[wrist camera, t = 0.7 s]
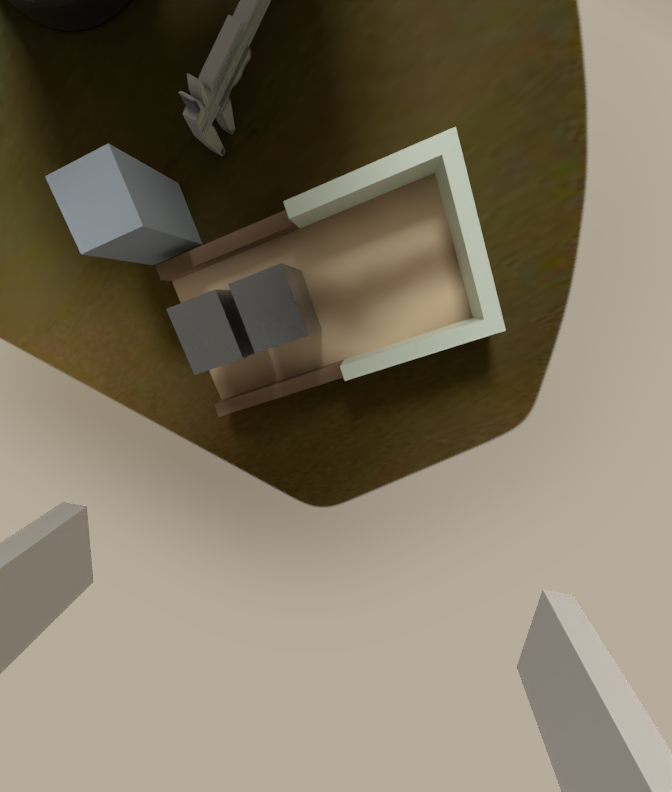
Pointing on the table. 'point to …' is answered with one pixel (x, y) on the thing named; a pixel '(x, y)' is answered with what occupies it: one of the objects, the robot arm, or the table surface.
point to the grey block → (123, 208)
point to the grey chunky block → (275, 307)
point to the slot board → (335, 286)
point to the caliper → (222, 75)
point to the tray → (464, 227)
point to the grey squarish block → (210, 330)
